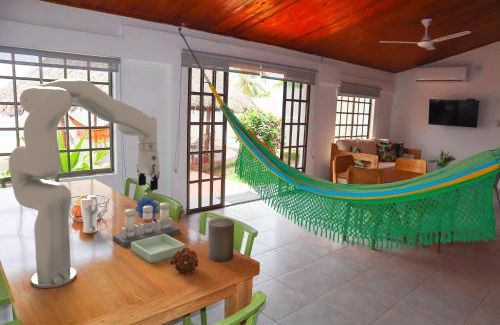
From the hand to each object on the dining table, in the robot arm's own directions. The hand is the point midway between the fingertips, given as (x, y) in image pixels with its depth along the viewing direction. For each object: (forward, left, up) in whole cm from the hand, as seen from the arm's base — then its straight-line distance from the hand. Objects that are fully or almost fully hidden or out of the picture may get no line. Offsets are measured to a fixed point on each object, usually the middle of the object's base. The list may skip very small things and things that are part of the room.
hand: (148, 187), depth 152 cm
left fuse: (0, +8, -19) cm, 21 cm away
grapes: (+18, -10, -22) cm, 30 cm away
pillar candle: (-35, -11, -22) cm, 43 cm away
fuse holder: (0, 0, -21) cm, 21 cm away
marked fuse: (0, 0, -19) cm, 19 cm away
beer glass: (+21, +16, -22) cm, 34 cm away
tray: (-17, +5, -21) cm, 28 cm away
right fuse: (0, -8, -19) cm, 21 cm away
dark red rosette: (-36, +6, -22) cm, 43 cm away
